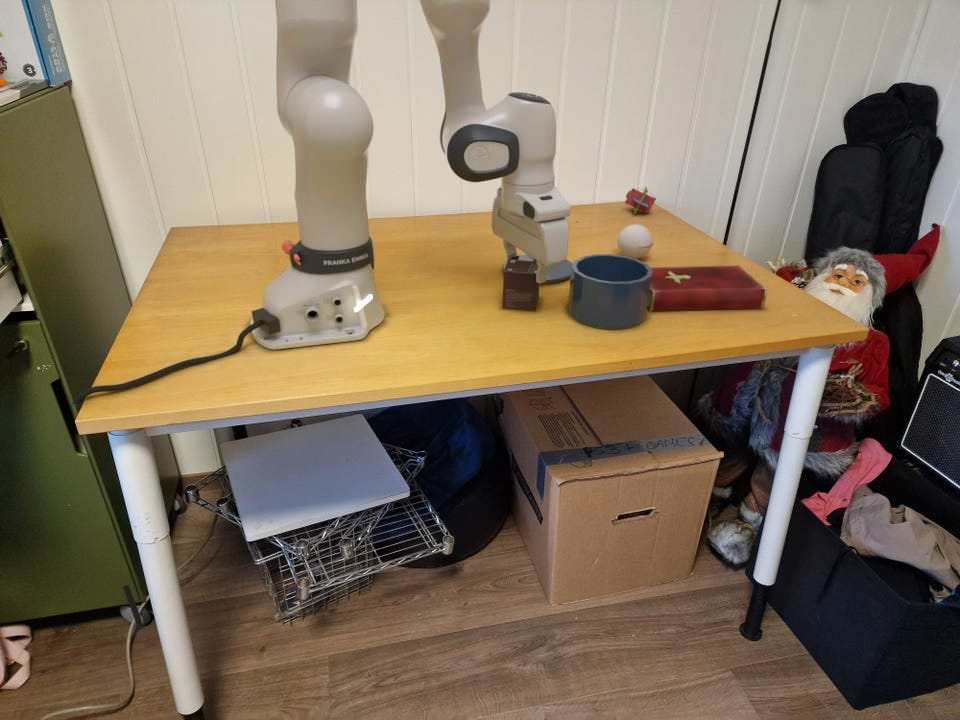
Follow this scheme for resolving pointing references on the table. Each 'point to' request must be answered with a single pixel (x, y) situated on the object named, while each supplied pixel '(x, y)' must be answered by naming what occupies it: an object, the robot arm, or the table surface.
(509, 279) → the box
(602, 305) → the pot
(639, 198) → the red gift box
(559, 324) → the table surface
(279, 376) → the table surface
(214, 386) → the table surface
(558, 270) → the pot lid
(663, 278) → the hardcover book
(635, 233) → the white sphere
